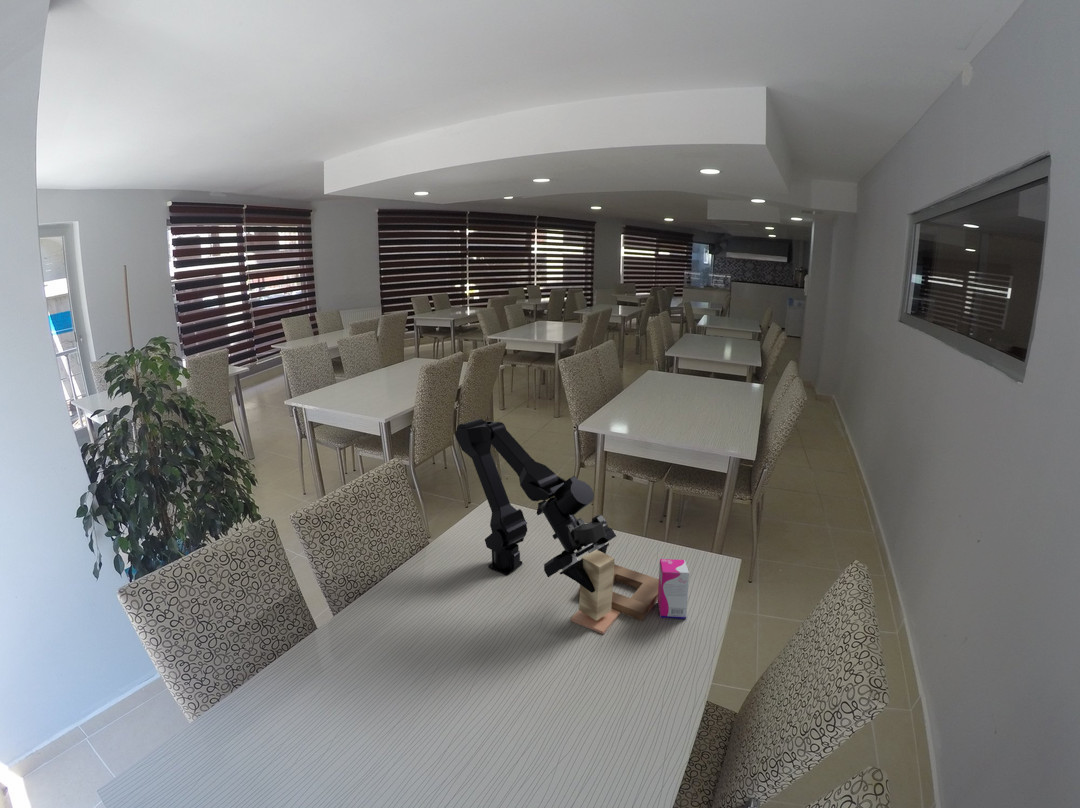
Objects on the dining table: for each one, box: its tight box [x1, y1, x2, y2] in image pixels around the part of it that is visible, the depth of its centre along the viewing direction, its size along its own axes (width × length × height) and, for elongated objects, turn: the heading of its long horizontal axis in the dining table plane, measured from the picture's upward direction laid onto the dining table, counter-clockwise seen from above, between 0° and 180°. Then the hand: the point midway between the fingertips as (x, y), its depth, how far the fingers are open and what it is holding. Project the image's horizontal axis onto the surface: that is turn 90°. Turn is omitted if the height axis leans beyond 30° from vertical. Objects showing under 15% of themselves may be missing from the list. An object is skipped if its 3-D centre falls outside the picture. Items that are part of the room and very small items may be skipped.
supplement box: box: [657, 558, 690, 620], centre depth 126 cm, size 6×6×12 cm
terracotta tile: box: [570, 609, 621, 635], centre depth 125 cm, size 8×8×1 cm
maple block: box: [578, 549, 615, 621], centre depth 123 cm, size 5×5×13 cm
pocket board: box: [577, 563, 659, 622], centre depth 134 cm, size 16×14×2 cm
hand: (601, 586), depth 122 cm, fingers closed on maple block, 5 cm apart
